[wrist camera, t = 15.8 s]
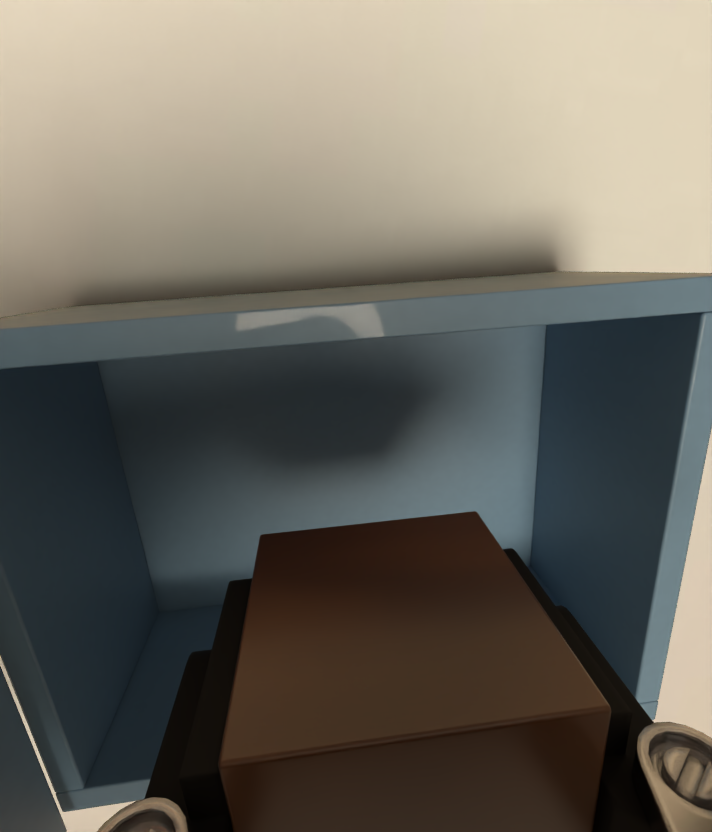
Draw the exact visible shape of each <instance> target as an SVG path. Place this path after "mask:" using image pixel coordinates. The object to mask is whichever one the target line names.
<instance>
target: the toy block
mask: <svg viewBox="0 0 712 832" xmlns="http://www.w3.org/2000/svg"><path fill="white" fill-rule="evenodd" d="M610 717H611V708H610V705H609V704H608V702H607V701H606V699H605V698H604V696H603V695H602V694H601V692H600V691H599V689H598V688H597V686H596V685H595V683H594V682H593V680H592V679H591V677H590V676H589V675H588V673H587V672H586V670H585V669H584V667H583V666H582V664H581V663H580V661H579V660H578V659H577V657H576V656H575V654H574V653H573V651H572V650H571V648H570V647H569V645H568V644H567V642H566V641H565V640H564V638H563V637H562V635H561V634H560V632H559V631H558V629H557V628H556V626H555V625H554V623H553V622H552V621H551V619H550V618H549V616H548V615H547V613H546V612H545V610H544V609H543V607H542V606H541V605H540V603H539V602H538V600H537V599H536V597H535V596H534V594H533V593H532V591H531V590H530V588H529V587H528V586H527V584H526V583H525V581H524V580H523V578H522V577H521V575H520V574H519V572H518V571H517V569H516V568H515V567H514V565H513V564H512V562H511V561H510V559H509V558H508V556H507V555H506V553H505V552H504V551H503V549H502V548H501V546H500V545H499V543H498V542H497V540H496V539H495V537H494V536H493V534H492V533H491V532H490V530H489V529H488V527H487V526H486V524H485V523H484V521H483V520H482V518H481V517H480V515H479V514H478V513H477V512H476V511H472V512H462V513H453V514H444V515H435V516H426V517H417V518H408V519H399V520H389V521H380V522H371V523H362V524H353V525H344V526H335V527H326V528H316V529H307V530H298V531H289V532H280V533H271V534H262V535H261V536H260V538H259V544H258V549H257V554H256V560H255V565H254V571H253V576H252V582H251V587H250V593H249V598H248V604H247V609H246V614H245V620H244V625H243V631H242V636H241V642H240V647H239V653H238V658H237V663H236V669H235V674H234V680H233V685H232V691H231V696H230V702H229V707H228V713H227V718H226V723H225V729H224V734H223V740H222V745H221V751H220V756H219V762H218V767H219V771H220V776H221V780H222V784H223V789H224V793H225V797H226V802H227V806H228V811H229V815H230V819H231V824H232V828H233V832H593V825H594V819H595V813H596V806H597V800H598V793H599V787H600V781H601V774H602V768H603V761H604V755H605V749H606V742H607V736H608V729H609V723H610Z"/></svg>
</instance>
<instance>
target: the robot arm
mask: <svg viewBox="0 0 712 832" xmlns="http://www.w3.org/2000/svg"><path fill="white" fill-rule="evenodd" d="M503 551H504V552H505V553H506V555H507V556H508V558H509V559H510V561H511V562H512V564H513V565H514V567H515V568H516V569H517V571H518V572H519V574H520V575H521V577H522V578H523V580H524V581H525V583H526V584H527V586H528V587H529V588H530V590H531V591H532V593H533V594H534V596H535V597H536V599H537V600H538V602H539V603H540V605H541V606H542V607H543V609H544V610H545V612H546V613H547V615H548V616H549V618H550V619H551V621H552V622H553V623H554V625H555V626H556V628H557V629H558V631H559V632H560V634H561V635H562V637H563V638H564V640H565V641H566V642H567V644H568V645H569V647H570V648H571V650H572V651H573V653H574V654H575V656H576V657H577V659H578V660H579V661H580V663H581V664H582V666H583V667H584V669H585V670H586V672H587V673H588V675H589V676H590V677H591V679H592V680H593V682H594V683H595V685H596V686H597V688H598V689H599V691H600V692H601V694H602V695H603V696H604V698H605V699H606V701H607V702H608V704H609V705H610V708H611V717H610V723H609V729H608V736H607V742H606V749H605V755H604V761H603V768H602V774H601V781H600V787H599V793H598V800H597V806H596V813H595V819H594V825H593V832H712V738H710V737H709V736H707V735H706V734H704V733H702V732H700V731H698V730H695V729H693V728H691V727H688V726H686V725H682V724H677V723H672V722H657V723H654V722H653V721H652V720H651V718H650V717H649V716H648V714H647V713H646V712H645V710H644V709H643V708H642V706H641V705H640V704H639V702H638V701H637V700H636V698H635V697H634V696H633V694H632V693H631V692H630V690H629V689H628V688H627V687H626V685H625V684H624V683H623V681H622V680H621V679H620V677H619V676H618V675H617V673H616V672H615V671H614V669H613V668H612V667H611V665H610V664H609V663H608V661H607V660H606V659H605V657H604V656H603V655H602V653H601V652H600V651H599V649H598V648H597V647H596V645H595V644H594V643H593V641H592V640H591V639H590V637H589V636H588V635H587V633H586V632H585V631H584V629H583V628H582V627H581V626H580V624H579V623H578V622H577V620H576V619H575V618H574V616H573V615H572V614H571V612H570V611H569V610H568V609H567V608H566V607H564V606H562V605H559V606H555V605H554V603H553V602H552V600H551V599H550V598H549V596H548V595H547V594H546V592H545V591H544V589H543V588H542V587H541V585H540V584H539V582H538V581H537V580H536V578H535V577H534V576H533V574H532V573H531V571H530V570H529V569H528V567H527V566H526V565H525V563H524V562H523V560H522V559H521V558H520V556H519V555H518V553H517V552H516V551H515V550H514V549H512V548H509V549H503ZM251 582H252V578H250V579H241V580H233V581H230V582H229V584H228V588H227V591H226V595H225V599H224V603H223V607H222V611H221V615H220V619H219V623H218V627H217V631H216V635H215V638H214V642H213V646H212V649H211V650H203V651H195V652H192V653H191V654H190V655H189V658H188V660H187V663H186V666H185V669H184V673H183V676H182V679H181V682H180V686H179V689H178V692H177V695H176V698H175V702H174V705H173V708H172V711H171V715H170V718H169V721H168V724H167V727H166V731H165V734H164V737H163V740H162V744H161V747H160V750H159V753H158V756H157V760H156V763H155V766H154V769H153V773H152V776H151V779H150V782H149V785H148V789H147V792H146V795H145V798H144V799H142V800H138V801H136V802H134V803H132V804H130V805H128V806H126V807H125V808H123V809H121V810H119V811H118V812H117V813H116V814H115V815H113V816H112V817H111V818H110V819H109V820H107V821H106V822H105V823H104V824H103V825H102V826H101V828H100V829H99V830H98V831H97V832H233V828H232V824H231V819H230V815H229V811H228V806H227V802H226V797H225V793H224V789H223V784H222V780H221V776H220V771H219V767H218V762H219V756H220V751H221V745H222V740H223V734H224V729H225V723H226V718H227V713H228V707H229V702H230V696H231V691H232V685H233V680H234V674H235V669H236V663H237V658H238V653H239V647H240V642H241V636H242V631H243V625H244V620H245V614H246V609H247V604H248V598H249V593H250V587H251Z"/></svg>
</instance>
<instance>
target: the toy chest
mask: <svg viewBox="0 0 712 832" xmlns="http://www.w3.org/2000/svg"><path fill="white" fill-rule="evenodd" d="M711 428H712V273H650V272H544V273H530V274H516V275H502V276H488V277H474V278H460V279H447V280H433V281H419V282H405V283H391V284H377V285H363V286H349V287H335V288H321V289H307V290H293V291H279V292H265V293H251V294H237V295H223V296H209V297H195V298H181V299H167V300H153V301H139V302H125V303H111V304H97V305H83V306H71V307H65V308H58V309H52V310H46V311H39V312H33V313H27V314H21V315H14V316H8V317H2V318H0V656H1V658H2V661H3V663H4V666H5V668H6V671H7V673H8V676H9V678H10V681H11V683H12V686H13V688H14V691H15V693H16V696H17V698H18V701H19V703H20V706H21V708H22V711H23V713H24V716H25V718H26V721H27V723H28V726H29V728H30V731H31V733H32V736H33V738H34V741H35V743H36V746H37V748H38V751H39V753H40V756H41V758H42V761H43V763H44V766H45V768H46V771H47V773H48V776H49V778H50V781H51V783H52V786H53V788H54V791H55V792H56V796H57V799H58V801H59V804H60V806H61V809H62V811H63V812H67V811H73V810H80V809H86V808H92V807H99V806H105V805H111V804H118V803H124V802H131V801H137V800H142V799H144V798H145V795H146V792H147V789H148V785H149V782H150V779H151V776H152V773H153V769H154V766H155V763H156V760H157V756H158V753H159V750H160V747H161V744H162V740H163V737H164V734H165V731H166V727H167V724H168V721H169V718H170V715H171V711H172V708H173V705H174V702H175V698H176V695H177V692H178V689H179V686H180V682H181V679H182V676H183V673H184V669H185V666H186V663H187V660H188V658H189V655H190V654H191V653H192V652H195V651H203V650H211V649H212V646H213V642H214V638H215V635H216V631H217V627H218V623H219V619H220V615H221V611H222V607H223V603H224V599H225V595H226V591H227V588H228V584H229V582H230V581H233V580H241V579H250V578H252V576H253V571H254V565H255V560H256V554H257V549H258V544H259V538H260V536H261V535H262V534H271V533H280V532H289V531H298V530H307V529H316V528H326V527H335V526H344V525H353V524H362V523H371V522H380V521H389V520H399V519H408V518H417V517H426V516H435V515H444V514H453V513H462V512H472V511H476V512H477V513H478V514H479V515H480V517H481V518H482V520H483V521H484V523H485V524H486V526H487V527H488V529H489V530H490V532H491V533H492V534H493V536H494V537H495V539H496V540H497V542H498V543H499V545H500V546H501V548H502V549H509V548H512V549H514V550H515V551H516V552H517V553H518V555H519V556H520V558H521V559H522V560H523V562H524V563H525V565H526V566H527V567H528V569H529V570H530V571H531V573H532V574H533V576H534V577H535V578H536V580H537V581H538V582H539V584H540V585H541V587H542V588H543V589H544V591H545V592H546V594H547V595H548V596H549V598H550V599H551V600H552V602H553V603H554V605H555V606H559V605H562V606H564V607H566V608H567V609H568V610H569V611H570V612H571V614H572V615H573V616H574V618H575V619H576V620H577V622H578V623H579V624H580V626H581V627H582V628H583V629H584V631H585V632H586V633H587V635H588V636H589V637H590V639H591V640H592V641H593V643H594V644H595V645H596V647H597V648H598V649H599V651H600V652H601V653H602V655H603V656H604V657H605V659H606V660H607V661H608V663H609V664H610V665H611V667H612V668H613V669H614V671H615V672H616V673H617V675H618V676H619V677H620V679H621V680H622V681H623V683H624V684H625V685H626V687H627V688H628V689H629V690H630V692H631V693H632V694H633V696H634V697H635V698H636V700H637V701H638V702H639V704H640V705H641V706H642V708H643V709H644V710H645V712H646V713H647V714H648V716H649V717H650V718H651V720H654V719H655V716H656V710H657V705H658V701H657V700H658V699H659V693H660V688H661V683H662V678H663V673H664V668H665V663H666V658H667V653H668V647H669V642H670V637H671V632H672V627H673V622H674V617H675V612H676V607H677V601H678V596H679V591H680V586H681V581H682V576H683V571H684V566H685V561H686V555H687V550H688V545H689V540H690V535H691V530H692V525H693V520H694V515H695V509H696V504H697V499H698V494H699V489H700V484H701V479H702V474H703V469H704V463H705V458H706V453H707V448H708V443H709V438H710V433H711Z"/></svg>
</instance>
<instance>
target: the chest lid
mask: <svg viewBox="0 0 712 832" xmlns="http://www.w3.org/2000/svg"><path fill="white" fill-rule="evenodd" d="M66 831H67V830H66V828H65V825H64V823H63V820H62V818H61V815H60V813H59V810H58V808H57V805H56V803H55V800H54V798H53V795H52V793H51V790H50V788H49V786H48V783H47V781H46V778H45V776H44V773H43V771H42V768H41V766H40V763H39V761H38V758H37V756H36V753H35V751H34V748H33V746H32V744H31V741H30V739H29V736H28V734H27V731H26V729H25V726H24V724H23V721H22V719H21V716H20V714H19V711H18V709H17V706H16V704H15V702H14V699H13V697H12V694H11V692H10V689H9V687H8V684H7V682H6V679H5V677H4V674H3V672H2V669H1V667H0V832H66Z"/></svg>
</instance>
